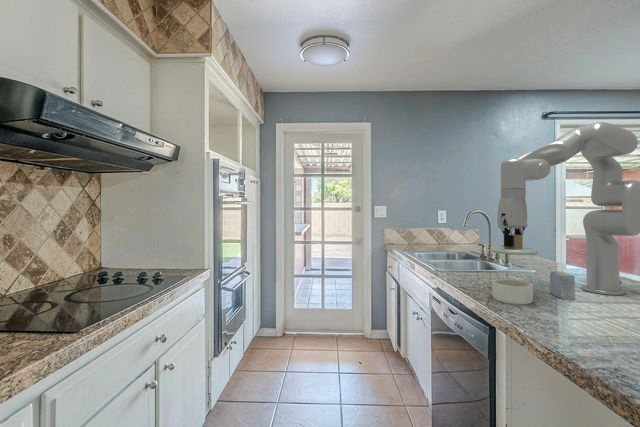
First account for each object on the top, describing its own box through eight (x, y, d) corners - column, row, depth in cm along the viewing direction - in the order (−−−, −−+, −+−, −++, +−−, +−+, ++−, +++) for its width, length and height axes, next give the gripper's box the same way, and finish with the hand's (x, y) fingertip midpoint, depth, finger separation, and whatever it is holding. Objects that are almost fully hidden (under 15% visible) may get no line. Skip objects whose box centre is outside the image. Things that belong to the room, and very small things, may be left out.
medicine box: (575, 300, 112) (575, 275, 112) (561, 299, 113) (561, 275, 112) (563, 294, 119) (563, 271, 119) (549, 293, 120) (549, 271, 120)
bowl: (507, 293, 120) (507, 278, 120) (540, 302, 109) (540, 284, 109) (485, 297, 116) (485, 281, 116) (517, 306, 105) (517, 288, 105)
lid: (507, 248, 121) (507, 232, 121) (546, 253, 109) (546, 235, 108) (482, 251, 116) (482, 234, 116) (519, 256, 103) (519, 237, 103)
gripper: (518, 195, 119) (518, 244, 119) (487, 194, 112) (487, 246, 112) (538, 194, 112) (539, 246, 112) (507, 193, 105) (507, 248, 105)
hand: (513, 245), depth 112 cm, fingers closed on lid, 4 cm apart
